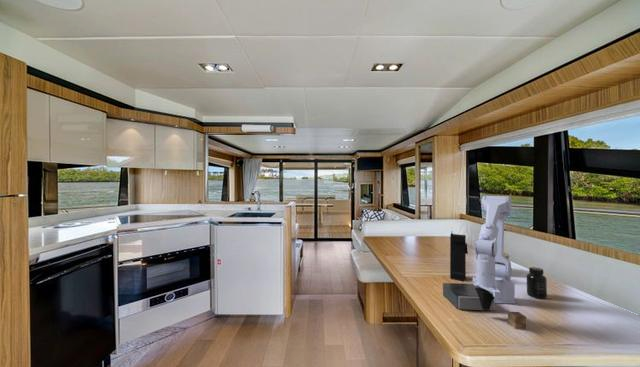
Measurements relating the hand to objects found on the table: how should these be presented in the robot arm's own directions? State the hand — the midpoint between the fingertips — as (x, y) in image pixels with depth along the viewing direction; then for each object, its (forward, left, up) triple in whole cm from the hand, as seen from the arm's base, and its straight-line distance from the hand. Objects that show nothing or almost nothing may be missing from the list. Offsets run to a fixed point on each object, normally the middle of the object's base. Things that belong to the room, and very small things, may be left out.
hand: (485, 309), depth 97 cm
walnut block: (-7, +6, -3) cm, 10 cm away
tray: (+1, -12, -3) cm, 12 cm away
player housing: (+1, -11, -3) cm, 12 cm away
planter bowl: (-33, -53, -3) cm, 63 cm away
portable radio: (-9, -40, -3) cm, 42 cm away
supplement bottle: (-33, -20, -3) cm, 39 cm away
